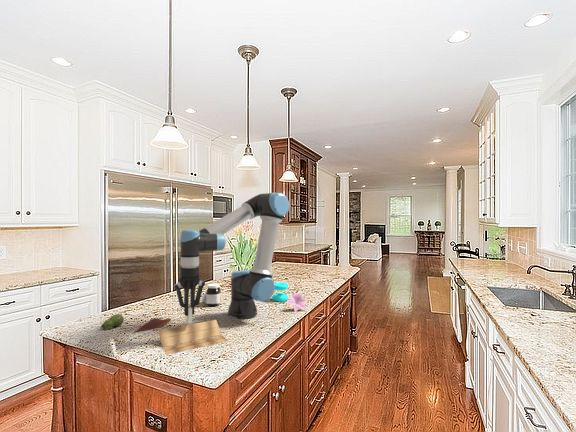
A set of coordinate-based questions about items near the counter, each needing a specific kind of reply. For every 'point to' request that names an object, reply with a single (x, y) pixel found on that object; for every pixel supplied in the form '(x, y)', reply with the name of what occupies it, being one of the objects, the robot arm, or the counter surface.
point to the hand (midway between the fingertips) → (189, 322)
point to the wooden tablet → (153, 324)
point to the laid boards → (194, 344)
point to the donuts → (280, 296)
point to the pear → (113, 322)
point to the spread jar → (212, 295)
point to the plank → (189, 333)
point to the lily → (297, 301)
